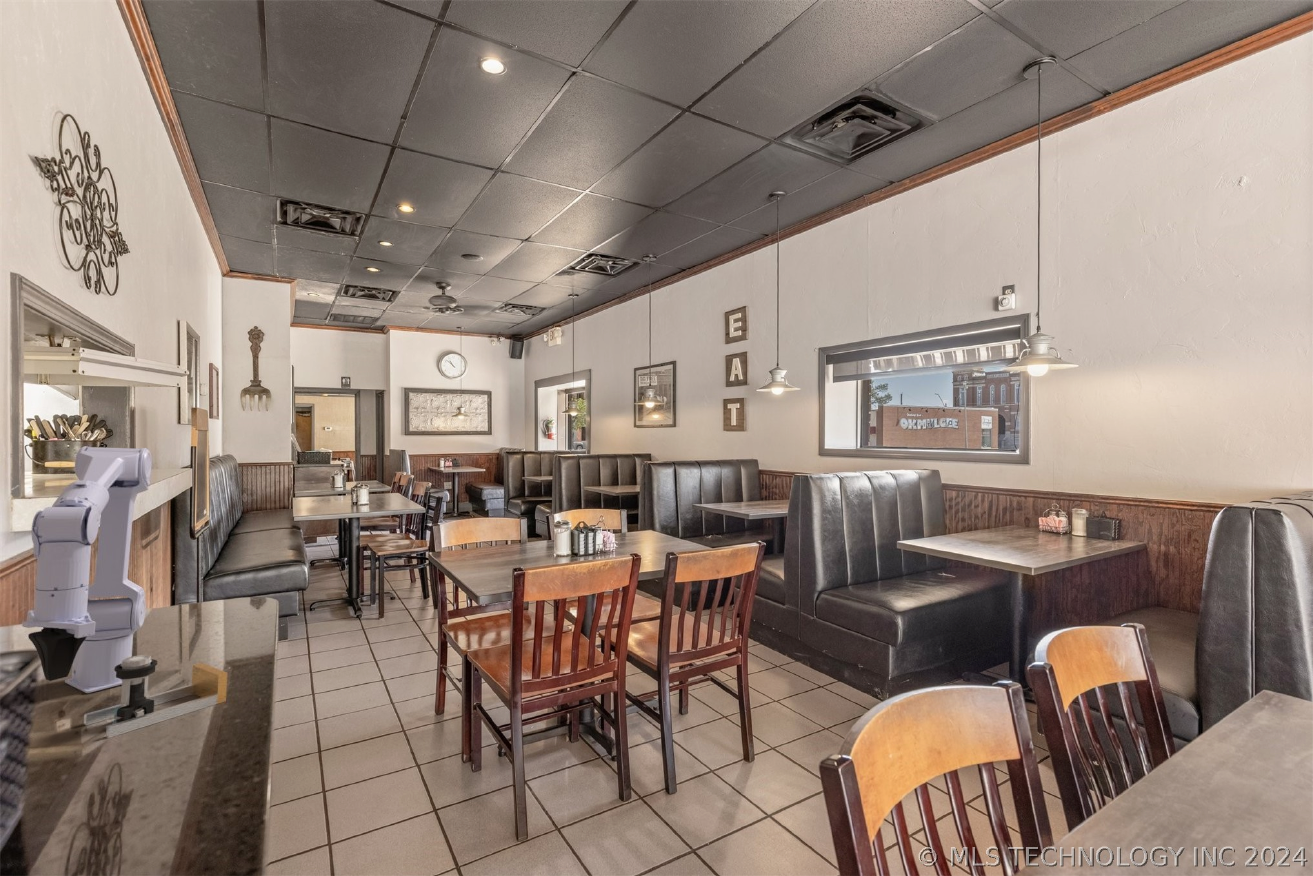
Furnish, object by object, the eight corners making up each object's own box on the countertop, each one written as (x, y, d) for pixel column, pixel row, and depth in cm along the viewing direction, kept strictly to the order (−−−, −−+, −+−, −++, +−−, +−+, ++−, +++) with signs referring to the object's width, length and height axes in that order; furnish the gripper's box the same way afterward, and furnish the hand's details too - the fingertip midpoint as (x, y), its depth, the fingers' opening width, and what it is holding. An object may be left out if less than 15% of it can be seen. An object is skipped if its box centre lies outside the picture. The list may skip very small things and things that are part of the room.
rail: (83, 724, 97) (85, 692, 97) (200, 690, 111) (201, 663, 111) (108, 738, 93) (110, 705, 93) (225, 701, 107) (227, 672, 107)
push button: (120, 733, 94) (124, 668, 94) (92, 729, 95) (96, 665, 95) (162, 715, 101) (166, 655, 101) (136, 711, 102) (140, 651, 102)
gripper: (2, 585, 90) (-5, 677, 90) (52, 598, 84) (46, 697, 84) (63, 577, 96) (57, 663, 96) (114, 588, 91) (109, 680, 90)
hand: (56, 678), depth 90 cm, fingers closed
